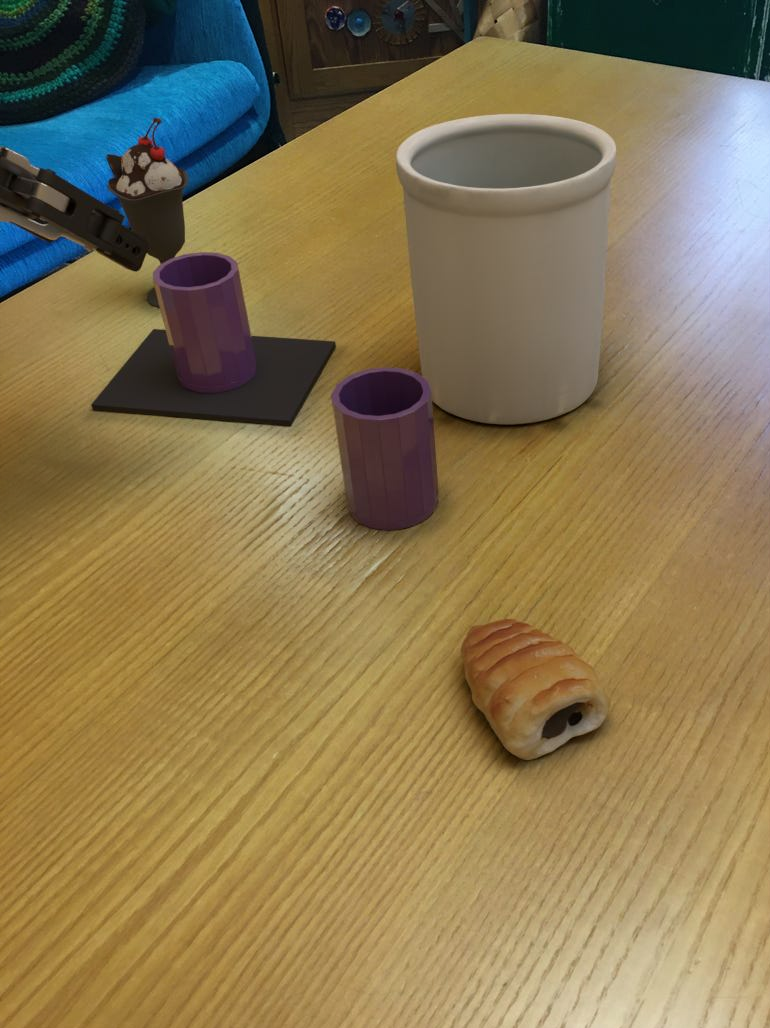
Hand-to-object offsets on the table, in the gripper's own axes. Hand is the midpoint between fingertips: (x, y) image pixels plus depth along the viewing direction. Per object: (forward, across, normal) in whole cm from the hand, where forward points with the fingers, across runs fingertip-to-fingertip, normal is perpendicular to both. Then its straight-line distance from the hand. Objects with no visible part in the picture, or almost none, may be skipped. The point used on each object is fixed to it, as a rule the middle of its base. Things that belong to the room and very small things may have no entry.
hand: (97, 242), depth 74 cm
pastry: (+4, -40, +16) cm, 43 cm away
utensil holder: (+24, -20, -4) cm, 31 cm away
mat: (+15, 0, +5) cm, 16 cm away
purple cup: (+15, 0, +4) cm, 15 cm away
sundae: (+21, +13, -1) cm, 25 cm away
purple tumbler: (+11, -22, +8) cm, 26 cm away
